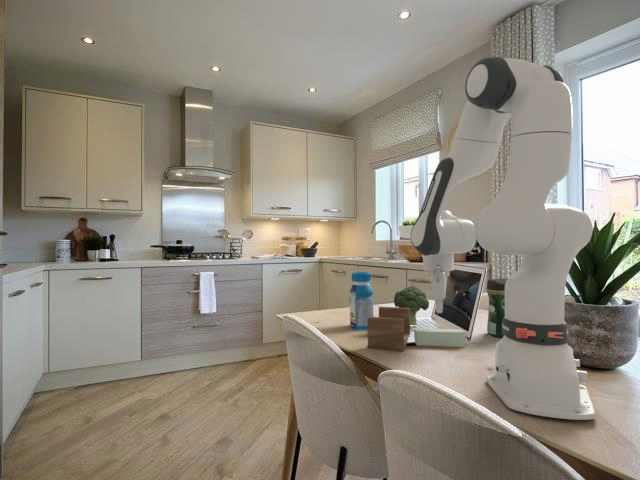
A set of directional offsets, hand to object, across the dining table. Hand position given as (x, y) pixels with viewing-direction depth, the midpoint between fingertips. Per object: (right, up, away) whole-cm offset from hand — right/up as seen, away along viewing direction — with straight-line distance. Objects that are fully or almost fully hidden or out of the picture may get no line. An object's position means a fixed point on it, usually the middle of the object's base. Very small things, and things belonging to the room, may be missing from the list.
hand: (439, 311), depth 112 cm
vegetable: (-3, -10, +23) cm, 25 cm away
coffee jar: (+24, -10, +11) cm, 29 cm away
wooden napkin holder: (-14, -10, +3) cm, 18 cm away
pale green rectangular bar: (0, -10, 0) cm, 10 cm away
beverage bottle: (-21, -10, +20) cm, 31 cm away
